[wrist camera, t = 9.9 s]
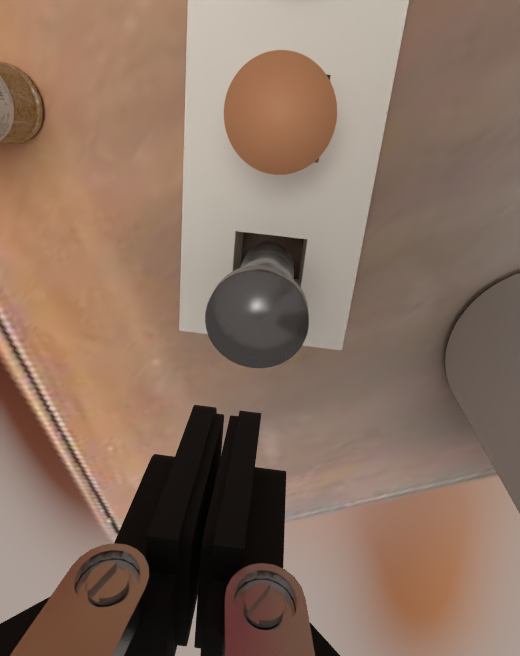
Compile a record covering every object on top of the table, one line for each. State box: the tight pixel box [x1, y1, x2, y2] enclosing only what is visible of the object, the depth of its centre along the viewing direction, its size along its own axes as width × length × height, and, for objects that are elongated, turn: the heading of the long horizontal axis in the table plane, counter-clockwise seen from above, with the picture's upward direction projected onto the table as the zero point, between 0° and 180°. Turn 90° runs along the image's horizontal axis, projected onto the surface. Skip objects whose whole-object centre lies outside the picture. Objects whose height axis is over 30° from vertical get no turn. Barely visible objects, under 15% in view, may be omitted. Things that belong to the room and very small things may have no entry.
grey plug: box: [205, 242, 309, 368], centre depth 23 cm, size 4×4×8 cm
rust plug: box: [224, 50, 337, 175], centre depth 22 cm, size 4×4×8 cm
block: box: [179, 0, 409, 350], centre depth 25 cm, size 10×25×5 cm, turn 174°
